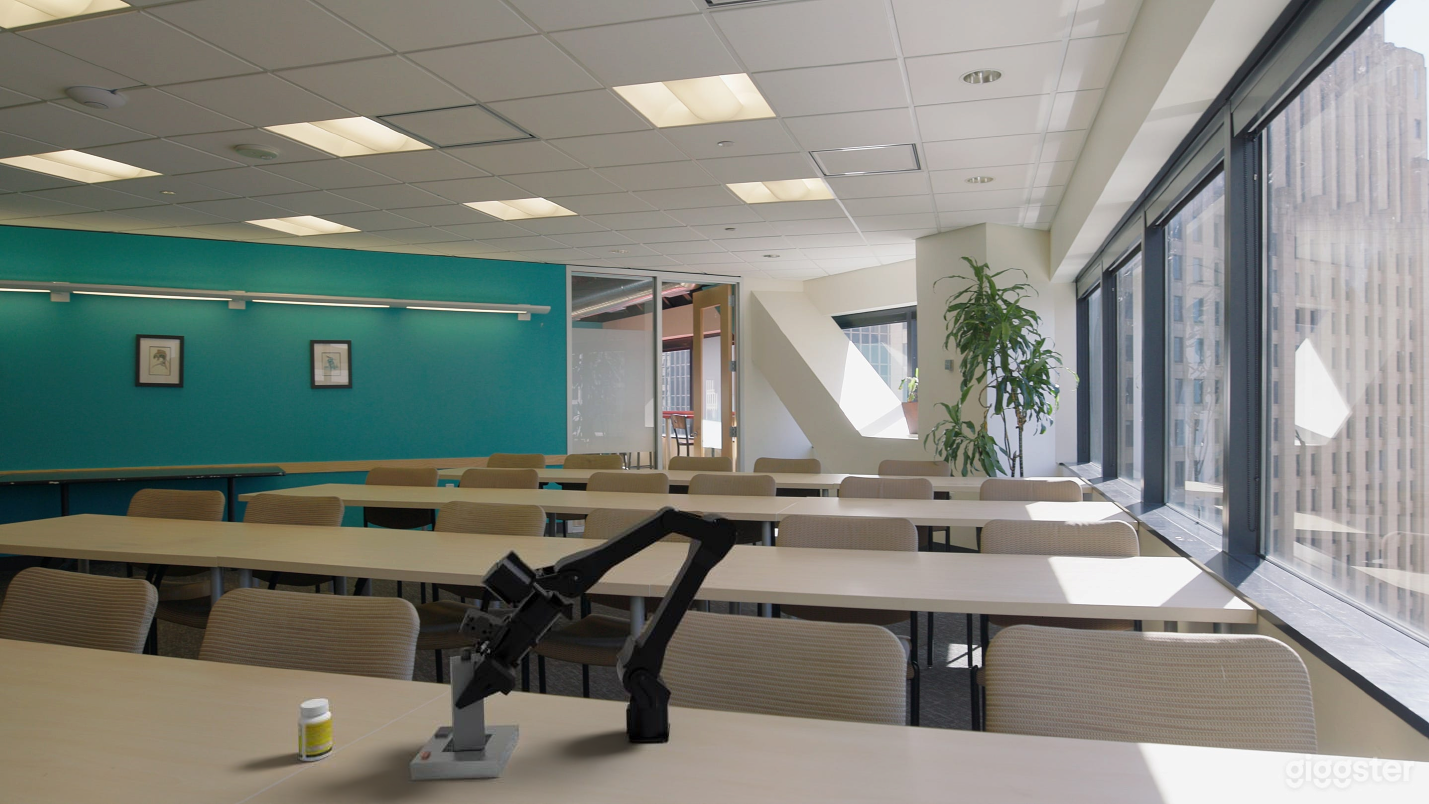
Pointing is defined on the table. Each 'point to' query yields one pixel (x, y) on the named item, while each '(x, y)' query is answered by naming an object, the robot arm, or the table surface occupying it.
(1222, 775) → the table surface
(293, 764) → the table surface
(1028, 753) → the table surface
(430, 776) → the socket
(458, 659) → the plug
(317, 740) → the supplement bottle
